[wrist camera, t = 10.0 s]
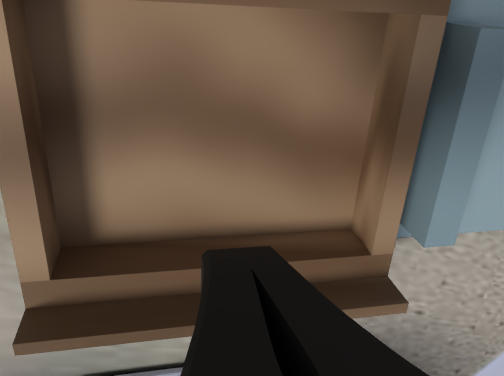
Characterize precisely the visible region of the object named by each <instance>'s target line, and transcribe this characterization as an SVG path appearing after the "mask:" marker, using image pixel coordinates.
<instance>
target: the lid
mask: <svg viewBox="0 0 504 376" xmlns="http://www.w3.org/2000/svg"><path fill="white" fill-rule="evenodd" d="M494 230H504V0H451V4H450V8H449V13H448V17H447V21H446V26H445V30H444V34H443V39H442V43H441V47H440V52H439V56H438V60H437V65H436V69H435V73H434V78H433V82H432V86H431V90H430V95H429V99H428V103H427V108H426V112H425V116H424V121H423V125H422V129H421V134H420V138H419V142H418V147H417V151H416V155H415V160H414V164H413V168H412V173H411V177H410V181H409V186H408V190H407V194H406V199H405V203H404V207H403V212H402V216H401V220H400V225H399V229H398V233H397V238H404V237H414V238H415V239H416V240H417V241H418V242H419V243H420V244H421V245H422V246H423V247H424V248H425V247H437V246H449V245H455V241H456V238H457V235H458V233H468V232H481V231H494Z"/></svg>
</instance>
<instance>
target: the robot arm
mask: <svg viewBox="0 0 504 376" xmlns="http://www.w3.org/2000/svg"><path fill="white" fill-rule="evenodd" d="M116 376H429V375H428V374H426V373H425V372H423V371H422V370H420V369H419V368H417V367H416V366H414V365H413V364H411V363H410V362H408V361H407V360H405V359H404V358H403V357H401V356H400V355H398V354H397V353H396V352H394V351H393V350H391V349H390V348H389V347H388V346H386V345H385V344H384V343H382V342H381V341H380V340H378V339H377V338H376V337H374V336H373V335H372V334H371V333H369V332H368V331H367V330H365V329H364V328H363V327H361V326H360V325H359V324H358V323H356V322H355V321H354V320H353V319H351V318H350V317H349V316H348V315H347V314H345V313H344V312H343V311H342V310H341V309H339V308H338V307H337V306H336V305H335V304H333V303H332V302H331V301H330V300H329V299H328V298H326V297H325V296H324V295H323V294H322V293H321V292H320V291H318V290H317V289H316V288H315V287H314V286H313V285H312V284H311V283H310V282H308V281H307V280H306V279H305V278H304V277H303V276H302V275H301V274H300V273H299V272H298V271H296V270H295V269H294V268H293V267H292V266H291V265H290V264H289V263H288V262H287V261H286V260H285V259H284V258H283V257H281V256H280V255H279V254H278V253H277V252H276V251H275V250H274V249H273V248H272V247H271V246H259V247H244V248H229V249H214V250H207V251H206V252H205V253H204V254H203V255H201V300H200V305H199V310H198V315H197V319H196V324H195V328H194V332H193V336H192V339H191V342H190V346H189V349H188V352H187V356H186V359H185V362H184V366H183V367H180V368H172V369H164V370H156V371H148V372H140V373H132V374H124V375H116Z"/></svg>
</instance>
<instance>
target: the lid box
mask: <svg viewBox="0 0 504 376" xmlns="http://www.w3.org/2000/svg"><path fill="white" fill-rule="evenodd" d="M450 4H451V0H0V188H1V193H2V198H3V202H4V207H5V212H6V217H7V222H8V226H9V231H10V236H11V241H12V245H13V250H14V255H15V260H16V265H17V269H18V274H19V279H20V284H21V288H22V293H23V298H24V303H25V308H26V309H25V312H24V315H23V317H22V320H21V323H20V326H19V328H18V331H17V334H16V337H15V339H14V342H13V349H14V353H15V356H16V355H25V354H34V353H43V352H52V351H61V350H70V349H79V348H89V347H98V346H107V345H116V344H125V343H134V342H143V341H152V340H161V339H170V338H180V337H189V336H193V332H194V328H195V324H196V319H197V315H198V310H199V305H200V300H201V255H203V254H204V253H205V252H206V251H207V250H214V249H229V248H244V247H259V246H271V247H272V248H273V249H274V250H275V251H276V252H277V253H278V254H279V255H280V256H281V257H283V258H284V259H285V260H286V261H287V262H288V263H289V264H290V265H291V266H292V267H293V268H294V269H295V270H296V271H298V272H299V273H300V274H301V275H302V276H303V277H304V278H305V279H306V280H307V281H308V282H310V283H311V284H312V285H313V286H314V287H315V288H316V289H317V290H318V291H320V292H321V293H322V294H323V295H324V296H325V297H326V298H328V299H329V300H330V301H331V302H332V303H333V304H335V305H336V306H337V307H338V308H339V309H341V310H342V311H343V312H344V313H345V314H347V315H348V316H349V317H350V318H351V319H353V318H362V317H371V316H380V315H389V314H398V313H406V311H407V308H408V304H409V303H408V301H407V300H406V299H405V298H404V296H403V295H402V294H401V293H400V291H399V290H398V289H397V288H396V286H395V285H394V284H393V283H392V281H391V280H390V279H389V277H388V272H389V268H390V264H391V259H392V255H393V251H394V246H395V242H396V238H397V233H398V229H399V225H400V220H401V216H402V212H403V207H404V203H405V199H406V194H407V190H408V186H409V181H410V177H411V173H412V168H413V164H414V160H415V155H416V151H417V147H418V142H419V138H420V134H421V129H422V125H423V121H424V116H425V112H426V108H427V103H428V99H429V95H430V90H431V86H432V82H433V78H434V73H435V69H436V65H437V60H438V56H439V52H440V47H441V43H442V39H443V34H444V30H445V26H446V21H447V17H448V13H449V8H450Z"/></svg>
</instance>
